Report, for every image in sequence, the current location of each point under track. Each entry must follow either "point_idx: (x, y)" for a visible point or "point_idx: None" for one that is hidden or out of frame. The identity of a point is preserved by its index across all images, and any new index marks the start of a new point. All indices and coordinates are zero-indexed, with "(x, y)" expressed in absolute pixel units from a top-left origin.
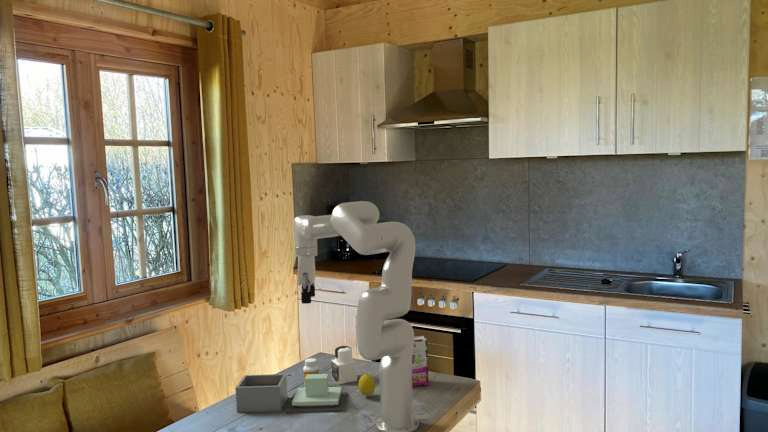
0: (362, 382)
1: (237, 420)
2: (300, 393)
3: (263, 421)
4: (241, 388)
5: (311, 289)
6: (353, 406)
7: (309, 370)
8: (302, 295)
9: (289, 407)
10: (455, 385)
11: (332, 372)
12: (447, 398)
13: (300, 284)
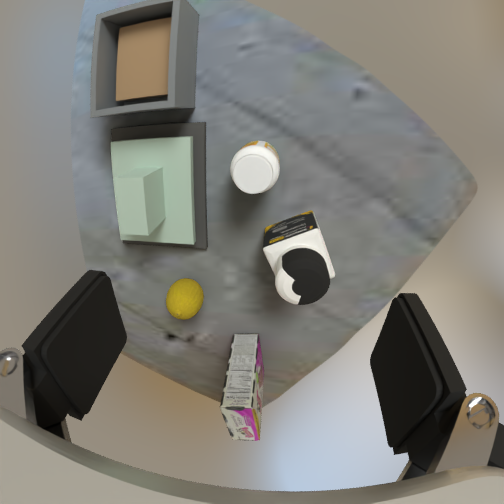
0: (167, 296)
1: (92, 46)
2: (154, 150)
3: (84, 97)
4: (95, 27)
5: (396, 400)
6: (147, 258)
7: (230, 168)
8: (49, 328)
9: (123, 132)
10: None
11: (308, 217)
12: (190, 379)
13: (42, 441)
